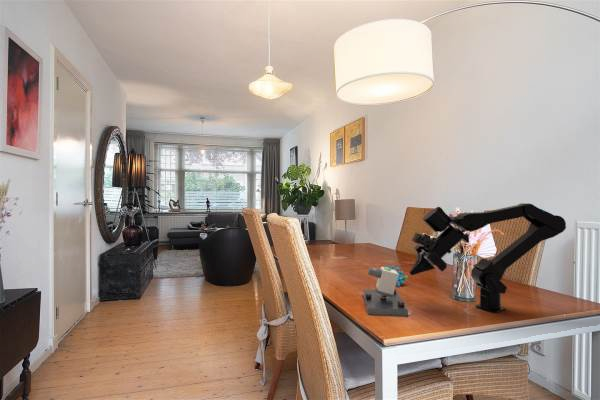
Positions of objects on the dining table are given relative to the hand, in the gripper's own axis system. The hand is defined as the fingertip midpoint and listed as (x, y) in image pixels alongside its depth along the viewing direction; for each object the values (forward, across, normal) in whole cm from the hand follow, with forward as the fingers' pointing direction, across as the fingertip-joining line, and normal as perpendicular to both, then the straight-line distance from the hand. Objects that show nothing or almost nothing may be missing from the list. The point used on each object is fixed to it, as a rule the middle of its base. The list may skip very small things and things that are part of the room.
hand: (410, 274), depth 105 cm
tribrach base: (+14, 0, +1) cm, 14 cm away
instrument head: (+12, 0, -3) cm, 12 cm away
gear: (+8, -26, +7) cm, 28 cm away
